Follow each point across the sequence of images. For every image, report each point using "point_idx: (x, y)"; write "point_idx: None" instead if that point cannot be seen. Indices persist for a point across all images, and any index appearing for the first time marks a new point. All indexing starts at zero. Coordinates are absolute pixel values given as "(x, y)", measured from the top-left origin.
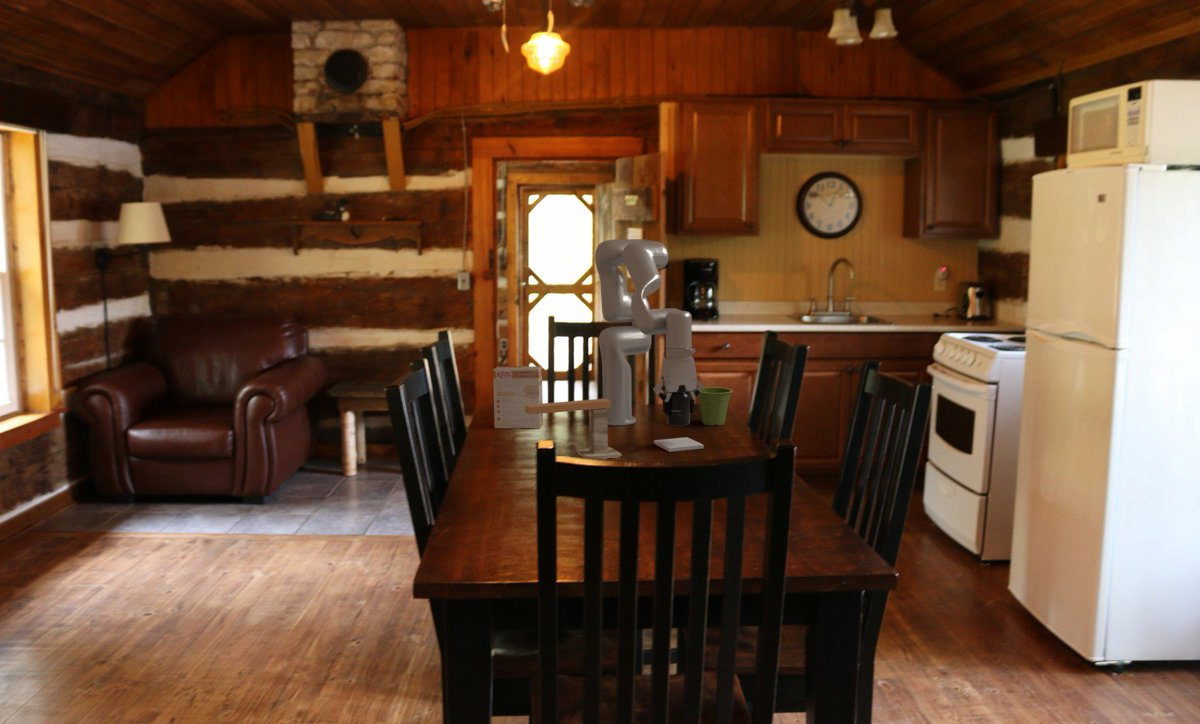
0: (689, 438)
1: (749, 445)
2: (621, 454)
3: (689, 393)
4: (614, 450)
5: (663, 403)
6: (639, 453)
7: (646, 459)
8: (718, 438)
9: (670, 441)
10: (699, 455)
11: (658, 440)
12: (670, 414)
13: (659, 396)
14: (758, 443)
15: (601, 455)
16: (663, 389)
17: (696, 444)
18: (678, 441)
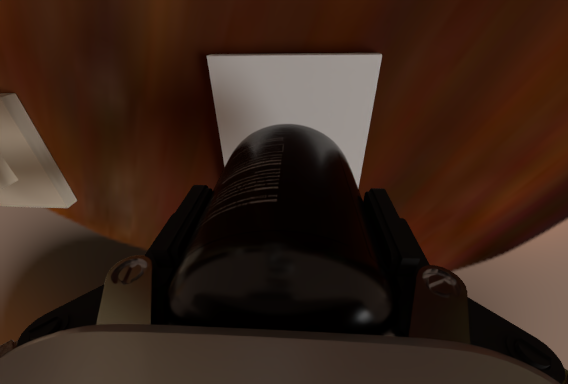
0: (374, 85)
1: (508, 213)
2: (69, 206)
3: (433, 327)
4: (37, 165)
5: (150, 256)
6: (134, 174)
7: (148, 233)
8: (530, 70)
9: (270, 107)
10: None
11: (226, 65)
12: None
13: (69, 315)
14: (560, 203)
15: (6, 203)
16: (64, 342)
17: None
18: (301, 120)
